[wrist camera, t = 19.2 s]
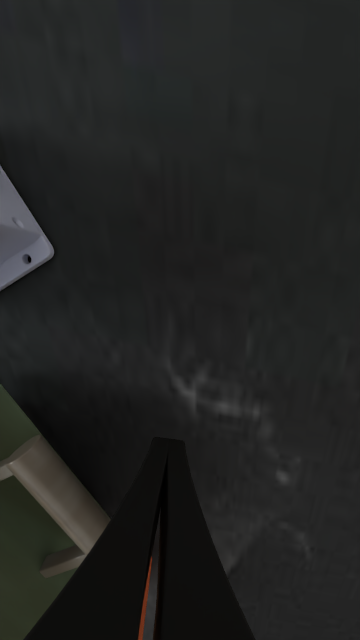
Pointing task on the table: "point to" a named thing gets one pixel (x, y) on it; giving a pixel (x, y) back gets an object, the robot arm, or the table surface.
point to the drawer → (38, 522)
